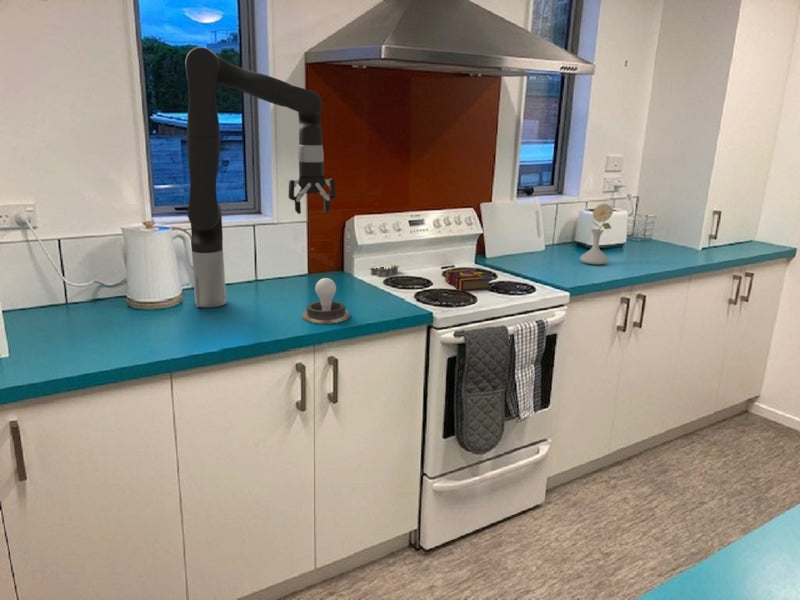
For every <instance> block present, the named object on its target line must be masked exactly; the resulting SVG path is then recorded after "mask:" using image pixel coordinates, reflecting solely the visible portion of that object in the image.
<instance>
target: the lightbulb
mask: <svg viewBox="0 0 800 600" xmlns="http://www.w3.org/2000/svg"><path fill="white" fill-rule="evenodd" d="M314 290H315V293H316V295H317V297H318V298H319V301H321V306H322V311H330V310H331V305H332V301H333V298H334V296H335V294H336V292H337V286H336V283H335V281H334V280H332V279H331V278H328V277H323V278H321V279H319V280H318V281H317V282H316V284H315V287H314Z"/></svg>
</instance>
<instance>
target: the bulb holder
mask: <svg viewBox="0 0 800 600" xmlns="http://www.w3.org/2000/svg"><path fill="white" fill-rule="evenodd" d="M350 316H351V315H350V312H349V311H348V310H346V305H345V304H344V303H343V302H339V301H335V300H332V305H331V310H330V311H322V306H321V301H320V300H318V301H313V302H311V303H309V304H308V305H307V306H306V310H305V311H303V312H302V320H303V319H304V321H305V320H306V321H308V322H307V323H309V322H312V323H311V324H314V323H318V324H317V325H333V324H332V323H336V324H339V323H338V322H341V323H343V322H342V321H344V322H345V320H346V321H348V320H349V319H350V318H349V317H350ZM348 318H349V319H348ZM347 319H348V320H347ZM306 321H305V322H306Z"/></svg>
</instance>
